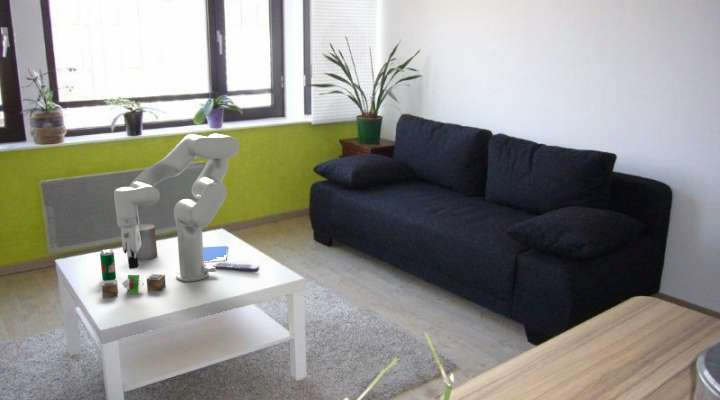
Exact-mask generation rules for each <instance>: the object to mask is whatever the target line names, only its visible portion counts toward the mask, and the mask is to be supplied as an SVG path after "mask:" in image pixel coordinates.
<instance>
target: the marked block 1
mask: <svg viewBox="0 0 720 400" xmlns="http://www.w3.org/2000/svg"><path fill="white" fill-rule="evenodd" d="M101 290H102V291H101V292H102V293H101V294H102V299H110V298H117V297H118V295H119V289H118V280H117V279H115V280H108V281H103V280H102V281H101Z"/></svg>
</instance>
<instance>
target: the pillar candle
mask: <svg viewBox="0 0 720 400" xmlns="http://www.w3.org/2000/svg"><path fill="white" fill-rule="evenodd" d="M138 227H139V232H140V238H141V247H140V249H139V250H138V252H137V257H138V261H144V260H145V261H146V260H152V259H154V258H156V257H157V256H158V247H157V237H156V228H155V225H154V224H152V223H139V225H138Z"/></svg>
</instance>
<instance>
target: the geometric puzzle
mask: <svg viewBox="0 0 720 400" xmlns="http://www.w3.org/2000/svg"><path fill="white" fill-rule="evenodd" d="M140 280H141V281H143V279H141V278H140V274H128V275H127V278H126V279H125V280H124V281H123V282H122V284H121V285H122V286H123V287H124V289H126V293H127V294H139V292H140V290H141V289H142V288H140V287H142V286H144V285H145V283H142V285H141V283H140V282H141V281H140Z"/></svg>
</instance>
